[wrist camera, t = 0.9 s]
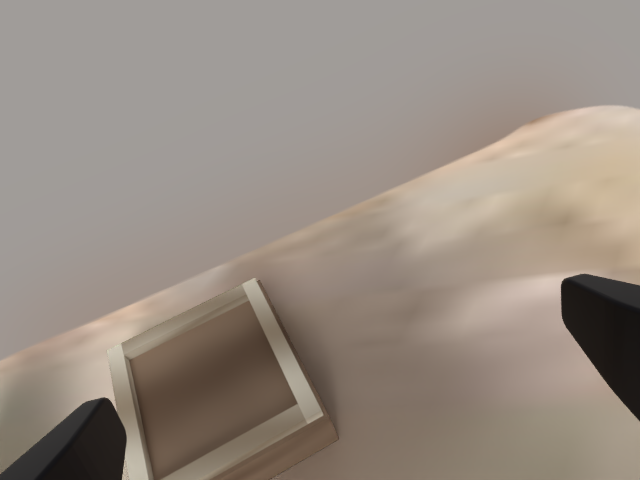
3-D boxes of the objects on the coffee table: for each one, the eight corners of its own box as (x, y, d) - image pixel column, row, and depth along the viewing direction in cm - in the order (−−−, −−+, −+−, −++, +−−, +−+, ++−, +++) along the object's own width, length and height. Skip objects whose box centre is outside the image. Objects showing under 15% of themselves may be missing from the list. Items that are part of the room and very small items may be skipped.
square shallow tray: (339, 439, 23) (327, 411, 20) (168, 537, 21) (131, 522, 19) (272, 308, 29) (256, 273, 26) (134, 378, 27) (102, 349, 25)
